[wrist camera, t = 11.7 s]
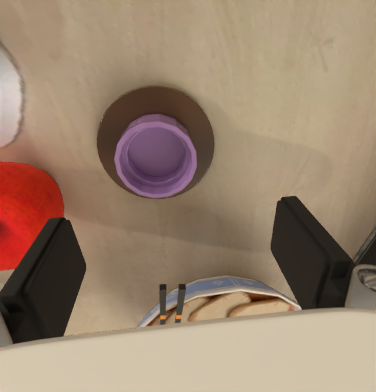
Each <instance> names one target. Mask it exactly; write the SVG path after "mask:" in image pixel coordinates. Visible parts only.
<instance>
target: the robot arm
mask: <svg viewBox="0 0 376 392" xmlns="http://www.w3.org/2000/svg"><path fill="white" fill-rule="evenodd" d="M271 251H272V254H273V256H274V257H275V259H276V261H277V263H278V265H279V267H280V269H281V271H282V273H283V275H284V277H285V279H286V280H287V282H288V284H289V286H290V288H291V290H292V292H293V294H294V296H295V298H296V300H297V302H298V303H299V305H300V307H301V309H302V310H297V311H286V312H276V313H266V314H257V315H247V316H238V317H228V318H219V319H209V320H200V321H191V322H182V323H173V324H164V325H155V326H146V327H138V328H129V329H120V330H112V331H103V332H95V333H86V334H78V335H70V336H64V333H65V330H66V327H67V324H68V321H69V318H70V315H71V312H72V309H73V307H74V304H75V301H76V298H77V295H78V292H79V289H80V286H81V283H82V280H83V278H84V275H85V272H86V263H85V260H84V257H83V255H82V252H81V249H80V246H79V244H78V241H77V238H76V236H75V233H74V230H73V227H72V225H71V222H70V221H69V220H66V219H65V218H64V217H57V218H49V219H48V221H47V222H46V224H45V225H44V227H43V228H42V230H41V231H40V233H39V234H38V236H37V237H36V239H35V240H34V242H33V243H32V245H31V246H30V248H29V249H28V251H27V252H26V254H25V255H24V257H23V258H22V260H21V261H20V263H19V264H18V266H17V267H16V269H15V270H14V272H13V273H12V275H11V276H10V278H9V279H8V281H7V282H6V284H5V285H4V287H3V289H2V290H1V292H0V392H376V266H374V265H367V264H362V265H358V266H357V265H356V264H355V263H354V261H353V260H352V259H351V258H350V257H349V256H348V255H347V254H346V252H345V251H344V250H343V249H342V248H341V247H340V246H339V244H338V243H337V242H336V241H335V240H334V239H333V238H332V236H331V235H330V234H329V233H328V232H327V231H326V230H325V228H324V227H323V226H322V225H321V224H320V223H319V222H318V221H317V219H316V218H315V217H314V216H313V215H312V214H311V213H310V211H309V210H308V209H307V208H306V207H305V206H304V205H303V203H302V202H301V201H300V200H299V199H298V198H297V197H296V196H289V197H282V198H281V200H280V201H278V202H277V207H276V213H275V220H274V226H273V233H272V239H271Z"/></svg>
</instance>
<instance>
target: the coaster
mask: <svg viewBox="0 0 376 392" xmlns="http://www.w3.org/2000/svg"><path fill="white" fill-rule="evenodd" d="M152 114H162V115H165V116H168V117H171V118H174V119H176V120H177V121H178V122H179V123H180V124H182V125H183V126H184V127H185V128H186V129H187V131H188V133H189V135H190V137H191V139H192V141H193V144H194V147H195V150H196V156H197V168H196V170H195V173H194V175H193V178H192V180H191V181H190V182H189V183H188V184H187V185H186V187H185V188H184V189H183V190H181V191H180V192H178V193H175V194H173V195H171V196H169V197H161V198H151V197H147V196H142V195H139V194H137V193H136V192H134V191H133V190H131V189H130V188H128V187H127V186H126V185H125V184H124V182H123V181H122V179H121V178H120V177H119V175H118V174H117V169H116V165H115V160H114V158H115V153H116V148H117V144H118V142H119V140H120V138H121V135H122V133H123V132H124V131H125V129H126V128H127V127H128V125H129V124H130V123H131V122H133V121H134V120H136V119H138V118H140V117H142V116H145V115H152ZM97 148H98V154H99V157H100V160H101V163H102V165H103V167H104V169H105V170H106V172H107V173H108V175H109V176H110V177H111V178H112V179H113V180H114V181H115V182H116V183H117V184H118V185H119V186H120V187H122V188H123V189H125V190H126V191H128V192H130V193H132V194H135V195H137V196H141V197H145V198H151V199H164V198H170V197H174V196H177V195H180V194H182V193H184V192H186V191H188V190H190V189H191V188H192V187H194V186H195V185H196V184H197V183H198V182H199V181H200V180H201V179H202V178H203V177H204V175H205V174H206V172H207V170H208V168H209V166H210V164H211V161H212V158H213V153H214V135H213V131H212V127H211V125H210V122H209V120H208V118H207V116H206V115H205V113H204V112H203V110H202V109H201V108H200V106H199V105H198V104H197V103H196V102H195V101H193V100H192V99H191V98H190V97H188V96H187V95H185V94H184V93H182V92H180V91H177V90H175V89H172V88H168V87H163V86H145V87H140V88H136V89H133V90H131V91H129V92H127V93H125V94H123V95H122V96H120V97H119V98H118V99H117V100H115V101H114V102H113V103H112V104H111V106H110V107H109V108H108V109H107V111H106V112H105V114H104V116H103V117H102V120H101V122H100V125H99V129H98V134H97Z"/></svg>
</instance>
